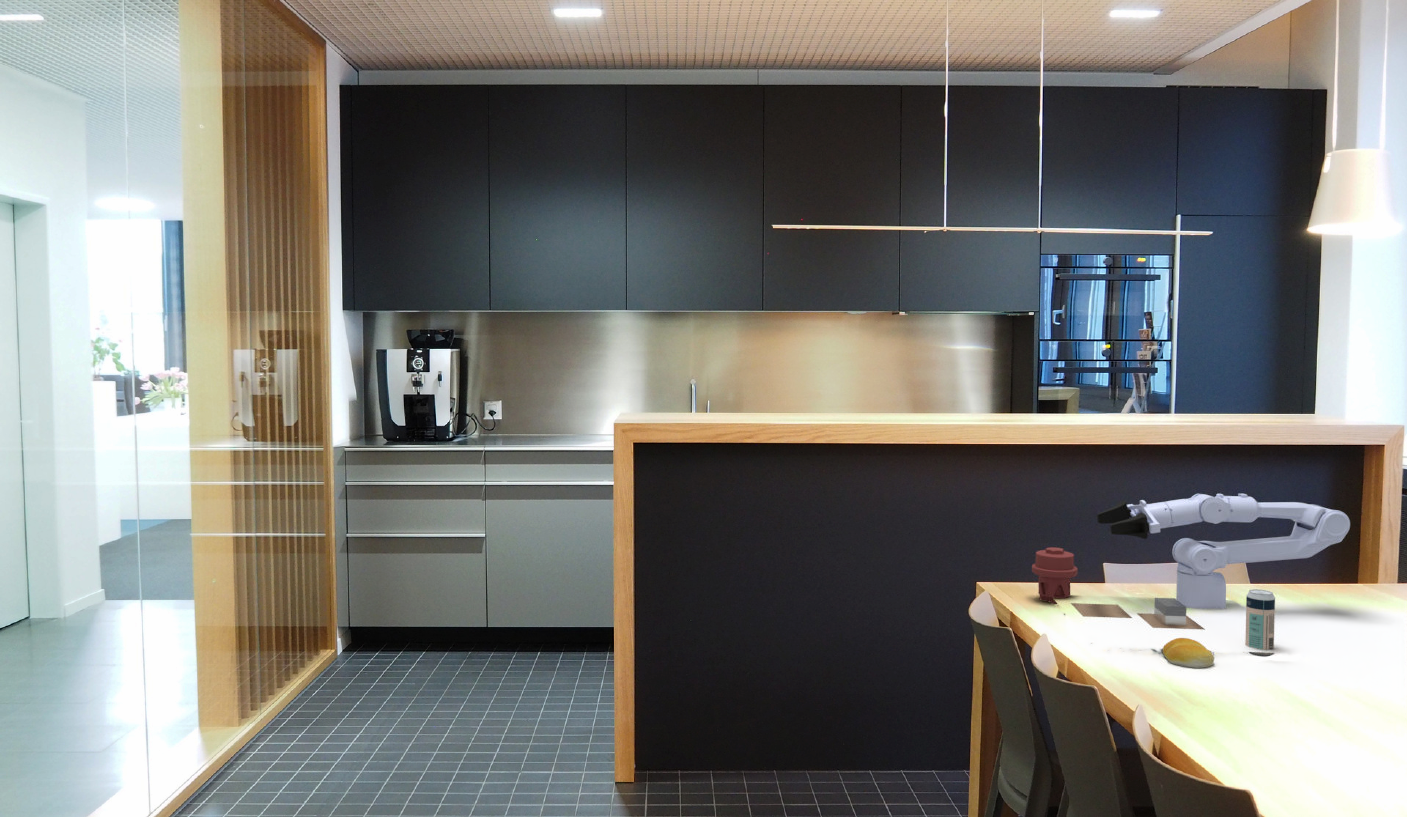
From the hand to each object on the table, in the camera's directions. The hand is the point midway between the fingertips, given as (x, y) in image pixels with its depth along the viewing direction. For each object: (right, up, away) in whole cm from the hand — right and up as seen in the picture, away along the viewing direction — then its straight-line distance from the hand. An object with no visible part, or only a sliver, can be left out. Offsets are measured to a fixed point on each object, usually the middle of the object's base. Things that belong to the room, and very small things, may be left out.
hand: (1104, 523), depth 210 cm
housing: (+8, -19, -14) cm, 25 cm away
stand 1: (-3, -20, -5) cm, 21 cm away
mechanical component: (-8, -19, +9) cm, 23 cm away
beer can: (+16, -21, -31) cm, 41 cm away
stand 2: (+8, -20, -14) cm, 26 cm away
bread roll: (+1, -22, -35) cm, 41 cm away
